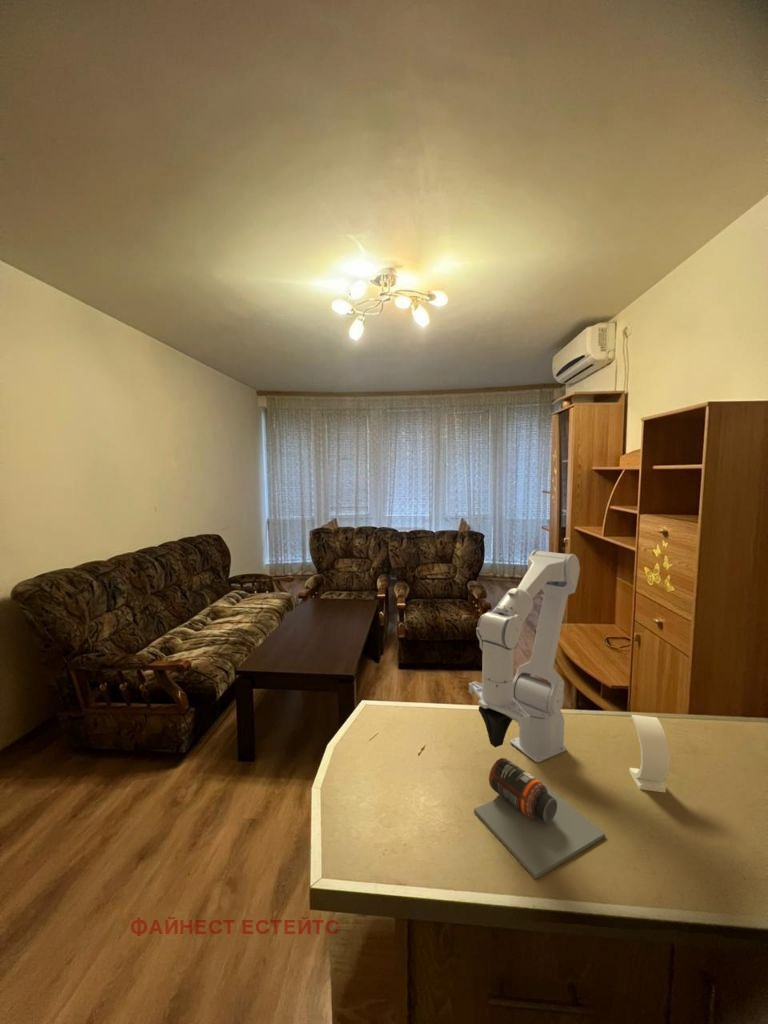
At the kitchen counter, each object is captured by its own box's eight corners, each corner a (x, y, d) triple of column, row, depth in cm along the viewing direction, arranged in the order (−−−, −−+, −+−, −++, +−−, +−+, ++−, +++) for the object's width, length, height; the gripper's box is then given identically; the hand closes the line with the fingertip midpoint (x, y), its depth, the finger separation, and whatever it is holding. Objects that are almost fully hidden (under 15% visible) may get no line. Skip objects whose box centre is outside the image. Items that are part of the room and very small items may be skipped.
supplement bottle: (496, 794, 78) (548, 836, 69) (482, 778, 76) (534, 820, 66) (512, 765, 80) (565, 803, 71) (499, 750, 78) (552, 786, 68)
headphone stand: (654, 774, 82) (656, 717, 82) (668, 796, 76) (671, 735, 76) (629, 771, 83) (631, 714, 82) (641, 793, 77) (643, 732, 77)
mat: (538, 782, 80) (538, 779, 80) (604, 836, 68) (605, 833, 68) (474, 812, 73) (474, 808, 73) (535, 878, 60) (535, 875, 60)
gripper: (457, 665, 83) (456, 730, 83) (510, 698, 70) (508, 774, 71) (484, 658, 86) (483, 720, 87) (539, 688, 73) (537, 761, 74)
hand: (496, 744), depth 79 cm, fingers closed
